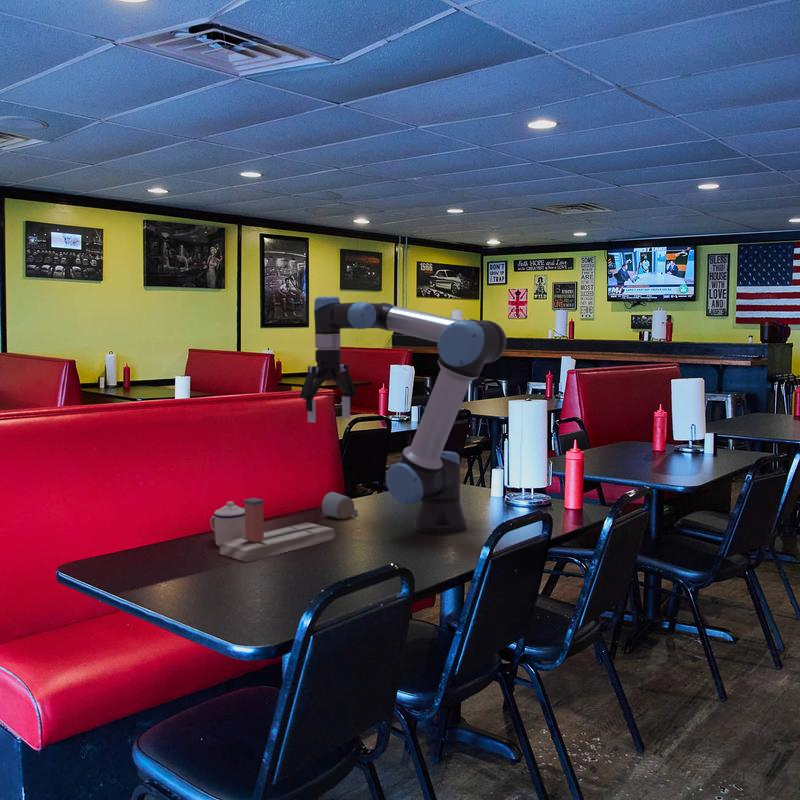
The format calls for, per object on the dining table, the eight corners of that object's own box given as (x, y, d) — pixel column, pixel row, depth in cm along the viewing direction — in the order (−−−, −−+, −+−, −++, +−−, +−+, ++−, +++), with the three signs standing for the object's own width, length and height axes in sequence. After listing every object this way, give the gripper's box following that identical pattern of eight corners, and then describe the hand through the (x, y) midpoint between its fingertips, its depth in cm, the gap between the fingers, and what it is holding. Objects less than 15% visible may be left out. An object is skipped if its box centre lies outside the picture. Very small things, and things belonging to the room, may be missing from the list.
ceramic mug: (338, 522, 251) (338, 497, 250) (321, 517, 257) (321, 493, 256) (363, 516, 259) (363, 492, 258) (346, 512, 264) (346, 489, 264)
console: (334, 539, 230) (334, 528, 230) (246, 562, 209) (246, 550, 209) (307, 532, 239) (307, 521, 239) (219, 553, 217) (219, 542, 217)
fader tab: (264, 540, 218) (263, 500, 217) (254, 542, 215) (253, 502, 214) (255, 537, 221) (253, 497, 220) (244, 539, 218) (243, 499, 217)
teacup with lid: (254, 541, 229) (253, 500, 228) (232, 549, 222) (231, 506, 221) (223, 536, 236) (221, 496, 235) (200, 543, 228) (198, 502, 227)
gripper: (350, 347, 255) (351, 415, 257) (286, 350, 237) (288, 423, 239) (367, 347, 250) (368, 417, 251) (303, 350, 232) (304, 425, 234)
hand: (329, 420), depth 245 cm, fingers open, 13 cm apart
